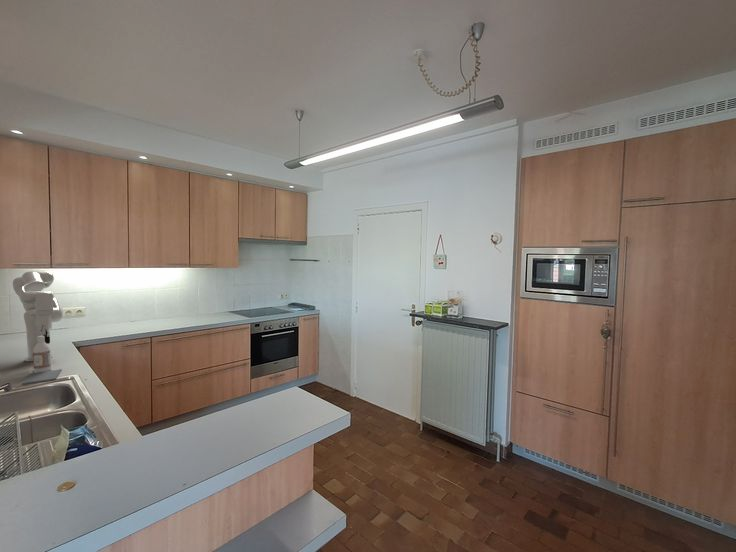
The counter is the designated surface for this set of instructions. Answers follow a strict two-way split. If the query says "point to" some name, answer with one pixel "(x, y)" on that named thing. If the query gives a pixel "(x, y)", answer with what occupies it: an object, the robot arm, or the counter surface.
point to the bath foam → (41, 356)
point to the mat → (41, 376)
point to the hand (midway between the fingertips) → (46, 343)
